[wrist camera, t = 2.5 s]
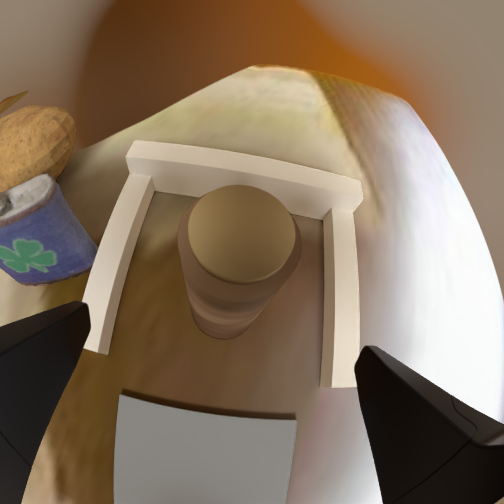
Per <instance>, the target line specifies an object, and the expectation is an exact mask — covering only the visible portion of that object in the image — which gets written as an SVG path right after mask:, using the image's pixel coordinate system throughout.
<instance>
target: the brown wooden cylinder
mask: <svg viewBox="0 0 504 504" xmlns="http://www.w3.org/2000/svg"><path fill="white" fill-rule="evenodd" d="M178 248H179V254H180V259H181V264H182V269H183V274H184V279H185V284H186V289H187V293H188V298H189V302H190V307H191V311H192V315H193V318H194V321H195V323H196V325H197V326H198V327H199V328H200V330H201V331H203V332H204V333H205V334H207V335H208V336H211V337H213V338H217V339H231V338H234V337H237V336H239V335H240V334H242V333H243V332H244V331H245V330H246V329H247V328H248V327H249V326H250V325H251V323H252V322H253V321H254V320H255V319H256V317H257V316H258V315H259V314H260V313H261V311H262V310H263V309H264V308H265V306H266V305H267V304H268V303H269V301H270V300H271V299H272V298H273V297H274V295H275V294H276V293H277V292H278V290H279V289H280V288H281V287H282V285H283V284H284V283H285V282H286V280H287V279H288V278H289V276H290V275H291V274H292V273H293V271H294V269H295V268H296V266H297V263H298V261H299V258H300V253H301V237H300V233H299V229H298V227H297V224H296V222H295V220H294V218H293V217H292V215H291V214H290V212H289V211H288V210H287V209H286V207H285V206H284V205H283V204H282V203H281V202H280V201H279V200H278V199H277V198H276V197H274V196H273V195H271V194H270V193H268V192H266V191H264V190H262V189H259V188H256V187H252V186H247V185H229V186H224V187H220V188H218V189H215V190H213V191H211V192H208V193H206V194H204V195H203V196H201V197H200V198H198V199H197V200H196V201H195V202H193V203H192V204H191V205H190V207H189V208H188V209H187V210H186V212H185V213H184V215H183V217H182V219H181V222H180V225H179V229H178Z"/></svg>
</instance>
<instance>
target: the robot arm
mask: <svg viewBox="0 0 504 504" xmlns="http://www.w3.org/2000/svg"><path fill="white" fill-rule="evenodd" d="M90 330H91V320H90V313H89V306H88V304H87V303H84V302H81V301H73V302H70V303H67V304H64V305H61V306H59V307H56V308H53V309H50V310H47V311H44V312H41V313H38V314H35V315H32V316H30V317H27V318H24V319H21V320H18V321H15V322H12V323H10V324H7V325H4V326H1V327H0V504H21V502H22V498H23V495H24V491H25V488H26V484H27V481H28V478H29V475H30V472H31V469H32V465H33V462H34V460H35V457H36V454H37V451H38V449H39V446H40V444H41V441H42V439H43V436H44V434H45V431H46V429H47V426H48V424H49V422H50V419H51V417H52V415H53V413H54V410H55V408H56V406H57V404H58V402H59V400H60V398H61V395H62V393H63V391H64V389H65V387H66V385H67V383H68V381H69V379H70V377H71V375H72V373H73V371H74V369H75V367H76V365H77V363H78V360H79V357H80V355H81V352H82V350H83V347H84V345H85V343H86V340H87V338H88V336H89V333H90ZM354 373H355V378H356V384H357V390H358V396H359V402H360V407H361V411H362V415H363V419H364V423H365V426H366V430H367V434H368V438H369V442H370V446H371V450H372V454H373V459H374V463H375V467H376V472H377V477H378V481H379V486H380V491H381V496H382V501H383V504H504V424H502V423H500V422H498V421H496V420H494V419H492V418H490V417H489V416H487V415H485V414H483V413H481V412H479V411H477V410H476V409H474V408H472V407H470V406H468V405H467V404H465V403H463V402H462V401H460V400H459V399H457V398H455V397H454V396H452V395H450V394H449V393H448V392H446V391H444V390H443V389H441V388H440V387H438V386H437V385H435V384H434V383H432V382H431V381H429V380H427V379H426V378H424V377H423V376H421V375H420V374H418V373H417V372H415V371H414V370H412V369H411V368H409V367H407V366H406V365H404V364H403V363H401V362H400V361H398V360H397V359H395V358H394V357H392V356H391V355H389V354H388V353H386V352H385V351H383V350H381V349H380V348H378V347H377V346H365V347H363V349H362V351H361V353H360V355H359V357H358V359H357V361H356V363H355V366H354Z"/></svg>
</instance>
